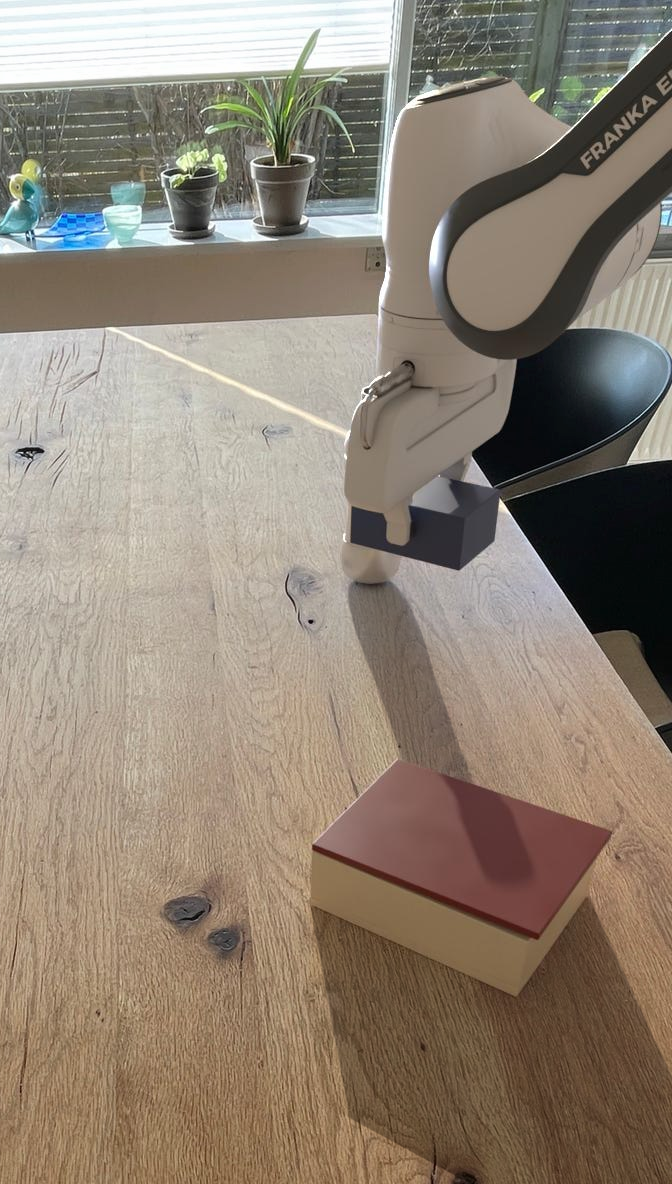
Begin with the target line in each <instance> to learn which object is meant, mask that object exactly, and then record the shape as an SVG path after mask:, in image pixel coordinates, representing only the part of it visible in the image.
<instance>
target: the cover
mask: <svg viewBox="0 0 672 1184" xmlns="http://www.w3.org/2000/svg"><path fill="white" fill-rule="evenodd" d="M612 835H613V831H612V830H611V829H607V828H605V827H601V826H598V825H597V824H593V823H589V822H587V821H583V820H580V819H578V818H575V817H573V816H569V815H567V814H563V813H560V812H557V811H555V810H551V809H549V808H545V807H542V806H540V805H536V804H533V803H530V802H527V801H525V800H522V799H519V798H517V797H516V798H515V797H513V796H510V795H506V794H503V793H501V792H499V791H494V790H492V789H489V788H487V787H483V786H480V785H477V784H474V783H471V782H468V781H465V780H462V779H460V778H456V777H453V776H450V775H448V774H445V773H441V772H439V771H435V770H433V769H430V768H427V767H424V766H420V765H417V764H414V763H412V762H409V761H406V760H403V759H400V758H397V759H395V761H394V762H392V763H391V765H390V766H389V767H387V769H385V770H384V772H383V773H381V774H380V776H378V777H377V779H375V780H374V781H373V783H371V784H370V785H369V786H368V787H367V789H365V790H364V791H363V793H361V794H360V795H359V796H358V798H357V799H356V800H354V802H353V803H352V804H350V805H349V807H348V808H346V809H345V811H344V812H342V813H341V814H340V816H339V817H337V818H336V819H335V820H334V821H333V822H332V824H330V825H329V827H328V828H326V830H325V831H323V833H322V834H320V835H319V836H318V837H317V838H316V839H315V841H313V843H311V851H315V852H318V853H320V854H323V855H325V856H328V857H330V858H333V859H335V860H338V861H340V862H343V863H345V864H348V865H350V866H353V867H355V868H358V869H360V870H363V871H365V872H368V873H370V874H373V875H375V876H378V877H380V878H383V879H385V880H388V881H390V882H393V883H395V884H398V885H400V886H403V887H405V888H408V889H411V890H413V891H416V892H418V893H421V894H423V895H426V896H428V897H431V898H433V899H436V900H438V901H441V902H443V903H446V904H448V905H451V906H453V907H456V908H458V909H461V910H463V911H466V912H468V913H471V914H473V915H476V916H478V917H481V918H483V919H486V920H488V921H491V922H493V923H496V924H498V925H501V926H503V927H506V928H508V929H511V930H513V931H516V932H518V933H521V934H523V935H526V936H528V937H531V938H533V939H536V940H539V938H540V937H541V935H542V934H543V933H544V931H545V930H546V928H547V927H548V926H549V924H550V923H551V921H552V920H553V919H554V917H555V916H556V914H557V913H558V912H559V910H560V909H561V907H562V906H563V904H564V903H565V902H566V900H567V899H568V897H569V896H570V895H571V893H572V892H573V890H574V889H575V888H576V886H577V885H578V883H579V882H580V881H581V879H582V878H583V876H584V875H585V873H586V872H587V871H588V869H589V868H590V866H591V865H592V864H593V862H594V861H595V859H596V858H597V859H598V856H599V855H600V854H601V852H602V851H603V850H604V848H605V847H606V845H607V844H608V843H609V841H610V840H611V838H612Z"/></svg>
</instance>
